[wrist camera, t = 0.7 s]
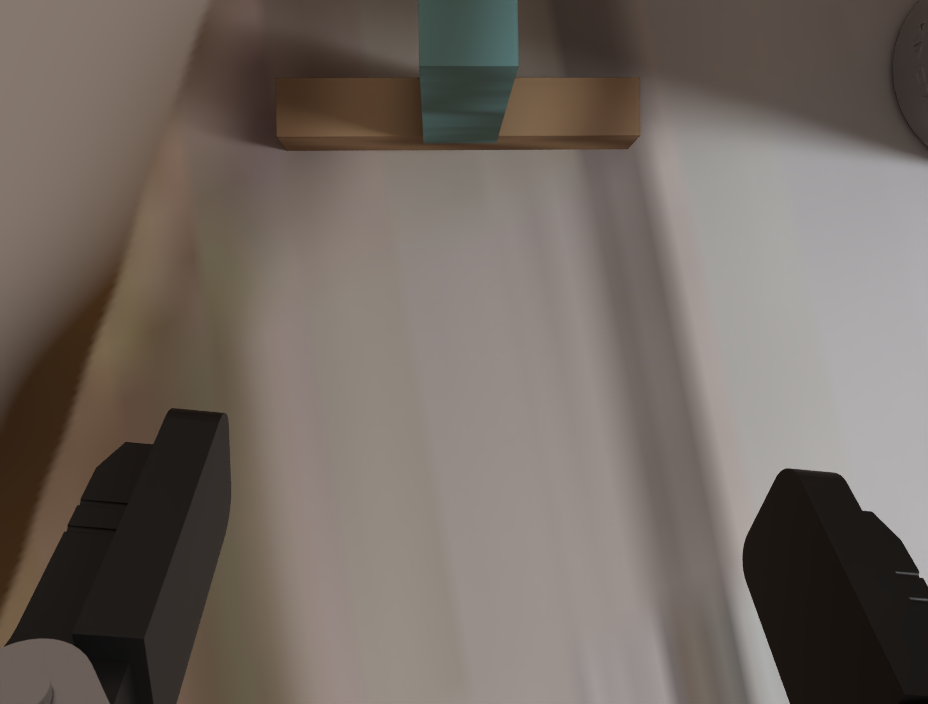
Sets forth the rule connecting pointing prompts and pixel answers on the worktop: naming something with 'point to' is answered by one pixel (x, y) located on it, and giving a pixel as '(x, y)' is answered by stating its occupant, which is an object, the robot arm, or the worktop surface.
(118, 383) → the worktop surface
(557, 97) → the beam
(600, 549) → the worktop surface
